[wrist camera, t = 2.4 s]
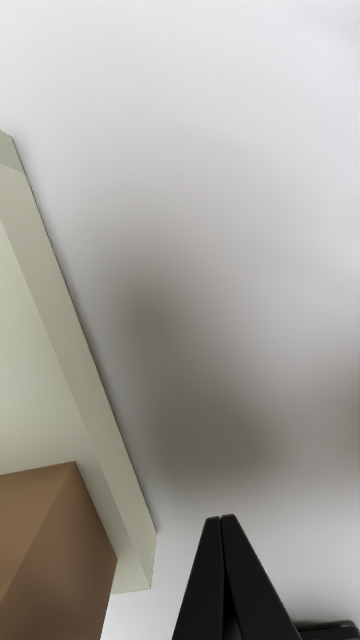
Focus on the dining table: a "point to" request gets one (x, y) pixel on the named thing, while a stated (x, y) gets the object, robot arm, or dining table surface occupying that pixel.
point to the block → (52, 557)
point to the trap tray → (59, 382)
